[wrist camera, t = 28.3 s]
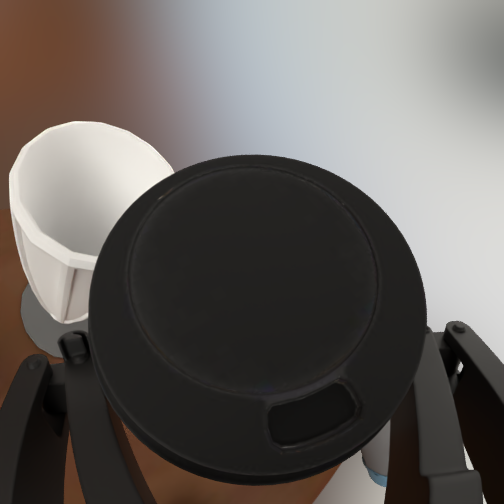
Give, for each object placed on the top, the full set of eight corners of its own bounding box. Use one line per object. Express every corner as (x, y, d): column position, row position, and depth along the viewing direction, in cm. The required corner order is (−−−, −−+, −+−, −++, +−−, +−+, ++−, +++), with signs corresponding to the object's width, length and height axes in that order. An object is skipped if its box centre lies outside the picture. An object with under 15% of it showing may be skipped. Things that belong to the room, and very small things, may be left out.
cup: (114, 284, 33) (195, 162, 20) (101, 370, 26) (182, 301, 13) (36, 254, 26) (64, 100, 14) (10, 340, 19) (-32, 219, 7)
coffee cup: (243, 452, 15) (270, 572, 2) (151, 359, 18) (14, 267, 5) (332, 361, 19) (483, 278, 6) (243, 280, 22) (260, 106, 9)
